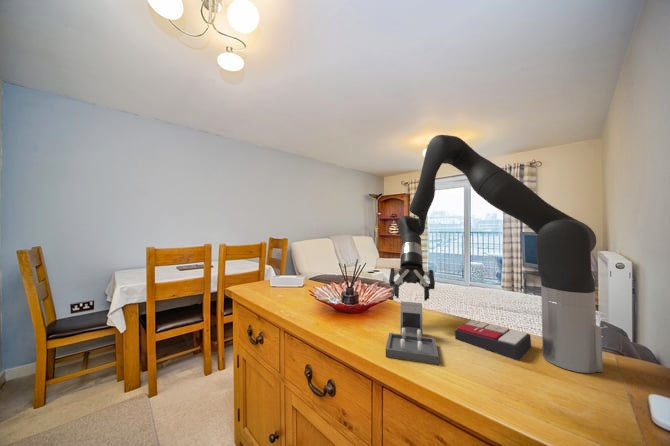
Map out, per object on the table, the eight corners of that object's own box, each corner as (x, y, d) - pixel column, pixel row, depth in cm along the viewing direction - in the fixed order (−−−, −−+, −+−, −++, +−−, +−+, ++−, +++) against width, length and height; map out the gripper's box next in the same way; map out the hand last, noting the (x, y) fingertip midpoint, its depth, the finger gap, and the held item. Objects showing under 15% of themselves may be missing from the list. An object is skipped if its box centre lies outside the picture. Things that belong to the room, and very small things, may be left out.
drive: (422, 333, 74) (421, 303, 74) (422, 339, 70) (422, 307, 70) (401, 330, 76) (401, 301, 76) (400, 336, 72) (400, 305, 72)
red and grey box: (471, 318, 77) (530, 331, 65) (472, 332, 77) (532, 348, 65) (453, 327, 70) (516, 343, 59) (454, 342, 70) (518, 361, 58)
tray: (434, 345, 66) (434, 330, 66) (438, 364, 57) (438, 346, 57) (389, 339, 70) (389, 324, 70) (385, 356, 60) (385, 340, 60)
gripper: (390, 250, 89) (387, 290, 77) (433, 251, 84) (436, 293, 73) (391, 263, 94) (389, 302, 82) (432, 264, 89) (435, 306, 78)
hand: (411, 298), depth 78 cm, fingers open, 8 cm apart
